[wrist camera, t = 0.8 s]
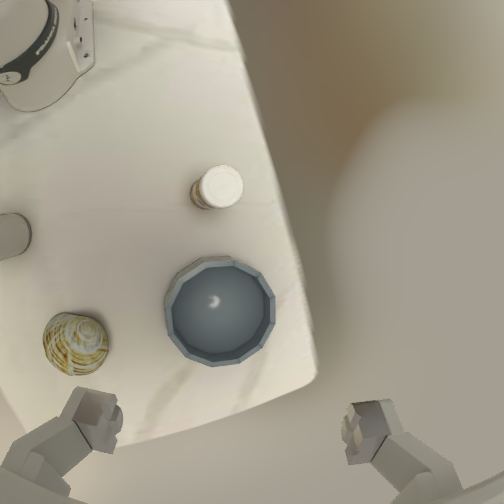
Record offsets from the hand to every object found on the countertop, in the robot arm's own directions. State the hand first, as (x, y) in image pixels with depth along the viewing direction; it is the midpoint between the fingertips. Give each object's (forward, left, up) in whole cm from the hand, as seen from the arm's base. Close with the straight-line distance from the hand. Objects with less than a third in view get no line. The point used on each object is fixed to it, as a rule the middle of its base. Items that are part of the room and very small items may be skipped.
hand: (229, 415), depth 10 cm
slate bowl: (+8, +6, -37) cm, 38 cm away
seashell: (+11, -16, -37) cm, 42 cm away
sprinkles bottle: (-9, +5, -37) cm, 38 cm away
